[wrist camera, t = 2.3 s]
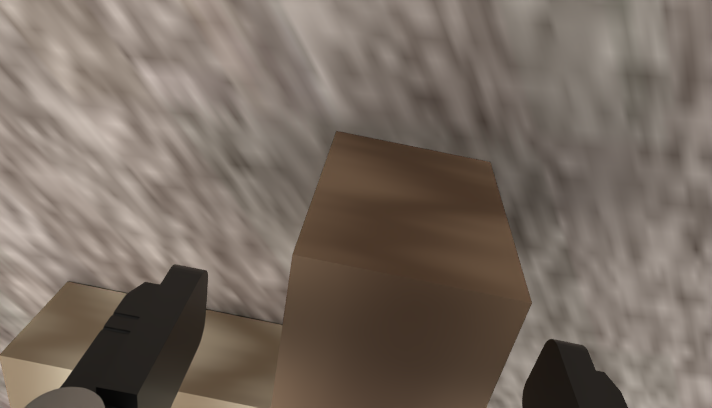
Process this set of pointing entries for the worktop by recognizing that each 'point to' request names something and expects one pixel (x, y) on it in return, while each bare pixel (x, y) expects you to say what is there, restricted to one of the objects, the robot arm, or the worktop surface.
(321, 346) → the walnut block
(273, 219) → the worktop surface
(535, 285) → the worktop surface
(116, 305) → the plinth
